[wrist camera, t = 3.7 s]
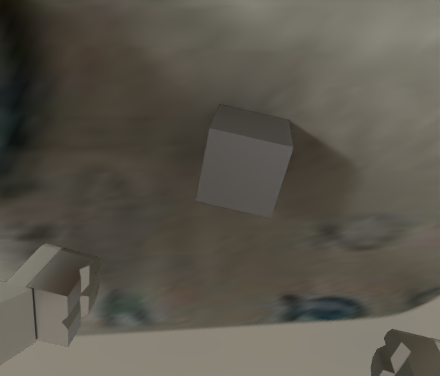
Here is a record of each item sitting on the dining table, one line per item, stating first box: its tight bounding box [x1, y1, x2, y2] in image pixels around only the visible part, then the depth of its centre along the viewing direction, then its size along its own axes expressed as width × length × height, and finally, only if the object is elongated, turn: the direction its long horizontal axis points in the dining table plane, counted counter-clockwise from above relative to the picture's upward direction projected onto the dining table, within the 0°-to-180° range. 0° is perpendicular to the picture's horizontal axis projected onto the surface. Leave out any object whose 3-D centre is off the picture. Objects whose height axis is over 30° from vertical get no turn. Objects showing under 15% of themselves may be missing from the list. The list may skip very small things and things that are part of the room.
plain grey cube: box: [195, 104, 294, 218], centre depth 20 cm, size 4×4×4 cm
